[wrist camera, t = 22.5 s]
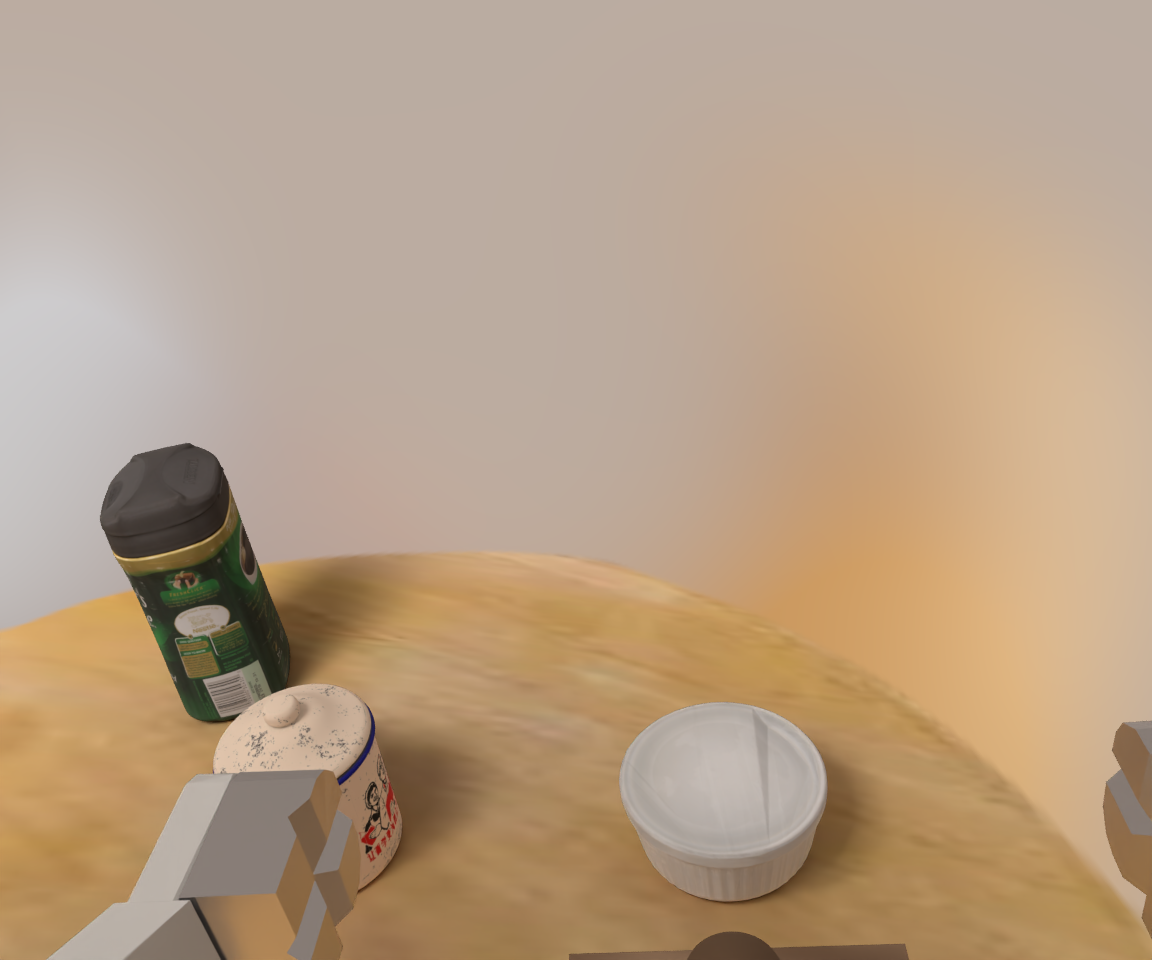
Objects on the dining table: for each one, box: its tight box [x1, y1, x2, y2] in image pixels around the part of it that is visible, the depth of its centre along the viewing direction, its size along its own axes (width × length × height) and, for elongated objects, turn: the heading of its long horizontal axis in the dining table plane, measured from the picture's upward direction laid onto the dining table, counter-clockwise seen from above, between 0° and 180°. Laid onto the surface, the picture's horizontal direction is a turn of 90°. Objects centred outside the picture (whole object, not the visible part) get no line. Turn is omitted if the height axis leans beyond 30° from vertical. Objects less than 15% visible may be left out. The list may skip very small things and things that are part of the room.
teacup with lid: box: [213, 684, 402, 890], centre depth 60 cm, size 12×9×12 cm
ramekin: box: [619, 702, 827, 902], centre depth 57 cm, size 11×11×5 cm
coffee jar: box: [100, 443, 290, 721], centre depth 72 cm, size 10×8×19 cm
